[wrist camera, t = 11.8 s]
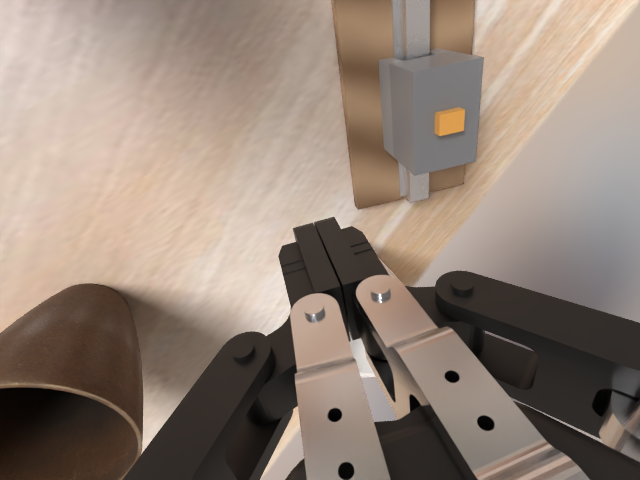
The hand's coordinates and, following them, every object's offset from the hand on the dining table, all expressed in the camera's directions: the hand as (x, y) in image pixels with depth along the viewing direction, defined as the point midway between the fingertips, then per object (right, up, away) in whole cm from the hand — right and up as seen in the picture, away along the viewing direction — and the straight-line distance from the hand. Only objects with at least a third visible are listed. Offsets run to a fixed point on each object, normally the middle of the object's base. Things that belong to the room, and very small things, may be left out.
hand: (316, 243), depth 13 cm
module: (+8, +13, +22) cm, 27 cm away
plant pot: (-24, -7, +28) cm, 38 cm away
